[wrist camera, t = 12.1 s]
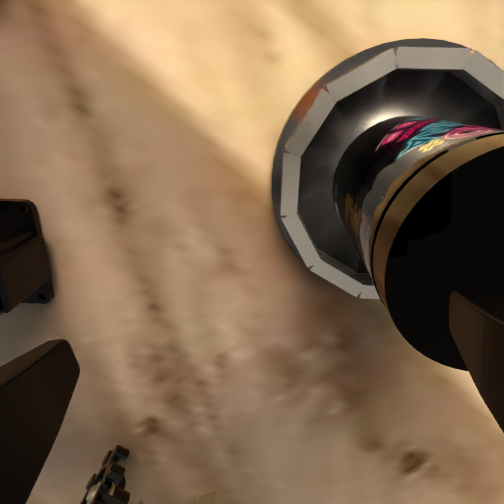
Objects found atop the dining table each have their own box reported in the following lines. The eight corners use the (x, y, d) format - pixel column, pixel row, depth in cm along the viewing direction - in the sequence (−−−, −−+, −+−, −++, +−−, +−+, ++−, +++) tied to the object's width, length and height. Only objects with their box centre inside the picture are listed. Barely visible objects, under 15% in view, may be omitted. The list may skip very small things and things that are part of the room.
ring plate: (267, 283, 23) (266, 302, 21) (277, 37, 18) (278, 30, 16) (486, 292, 23) (508, 312, 21) (560, 43, 18) (599, 36, 15)
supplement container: (488, 193, 20) (696, 291, 10) (374, 266, 21) (457, 408, 12) (421, 81, 18) (598, 70, 8) (303, 172, 20) (333, 250, 10)
